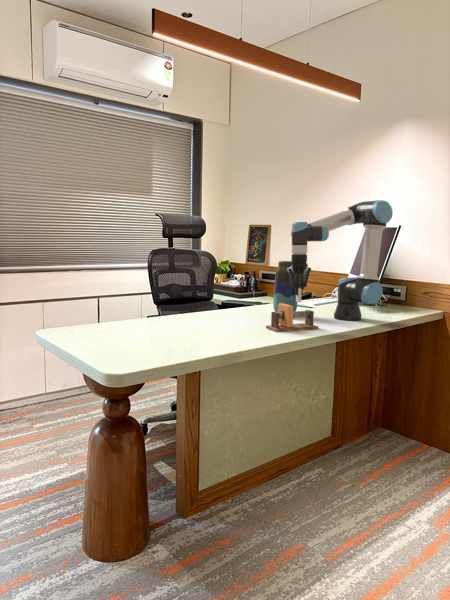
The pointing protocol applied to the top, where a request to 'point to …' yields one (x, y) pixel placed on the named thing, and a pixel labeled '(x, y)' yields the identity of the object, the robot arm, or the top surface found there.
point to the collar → (286, 315)
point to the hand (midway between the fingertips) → (298, 301)
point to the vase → (283, 287)
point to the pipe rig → (302, 326)
